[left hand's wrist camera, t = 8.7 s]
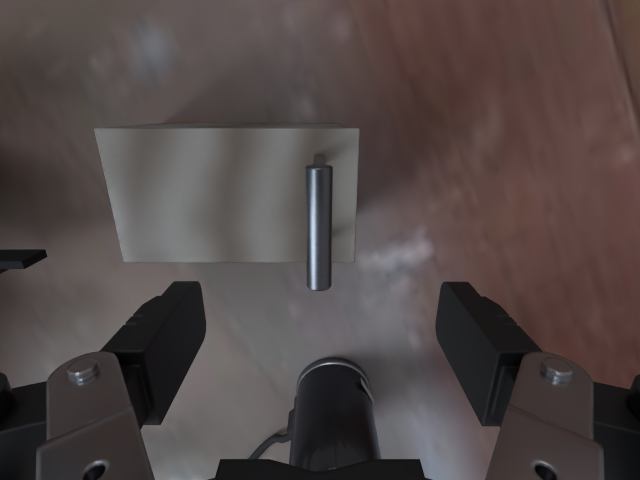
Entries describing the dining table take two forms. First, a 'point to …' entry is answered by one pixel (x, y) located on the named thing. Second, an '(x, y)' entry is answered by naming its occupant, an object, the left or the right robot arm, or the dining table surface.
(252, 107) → the dining table surface
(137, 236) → the panel with bar handle
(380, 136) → the dining table surface
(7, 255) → the right robot arm
